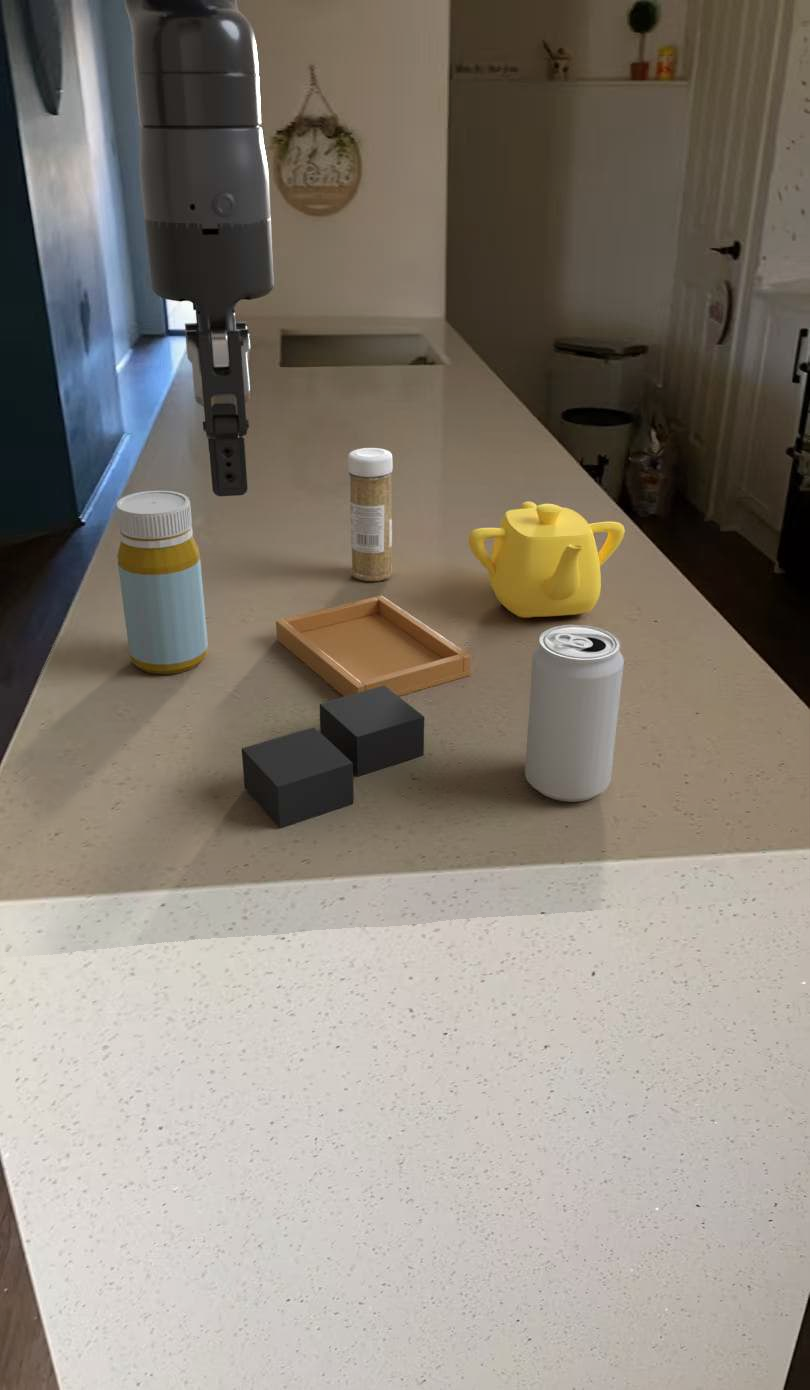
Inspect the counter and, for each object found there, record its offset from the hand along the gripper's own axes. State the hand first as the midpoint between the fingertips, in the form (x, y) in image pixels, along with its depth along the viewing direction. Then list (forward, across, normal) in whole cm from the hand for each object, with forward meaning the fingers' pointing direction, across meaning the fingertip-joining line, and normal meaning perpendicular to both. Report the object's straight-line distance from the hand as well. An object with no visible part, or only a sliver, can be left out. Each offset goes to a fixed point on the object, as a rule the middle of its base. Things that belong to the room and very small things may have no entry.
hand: (227, 474), depth 73 cm
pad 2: (+23, 0, +10) cm, 25 cm away
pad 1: (+23, +5, +3) cm, 24 cm away
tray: (+23, -16, +12) cm, 31 cm away
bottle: (+23, -19, -6) cm, 31 cm away
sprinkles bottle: (+23, -36, +15) cm, 45 cm away
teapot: (+23, -25, +31) cm, 46 cm away
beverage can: (+23, +7, +23) cm, 34 cm away
